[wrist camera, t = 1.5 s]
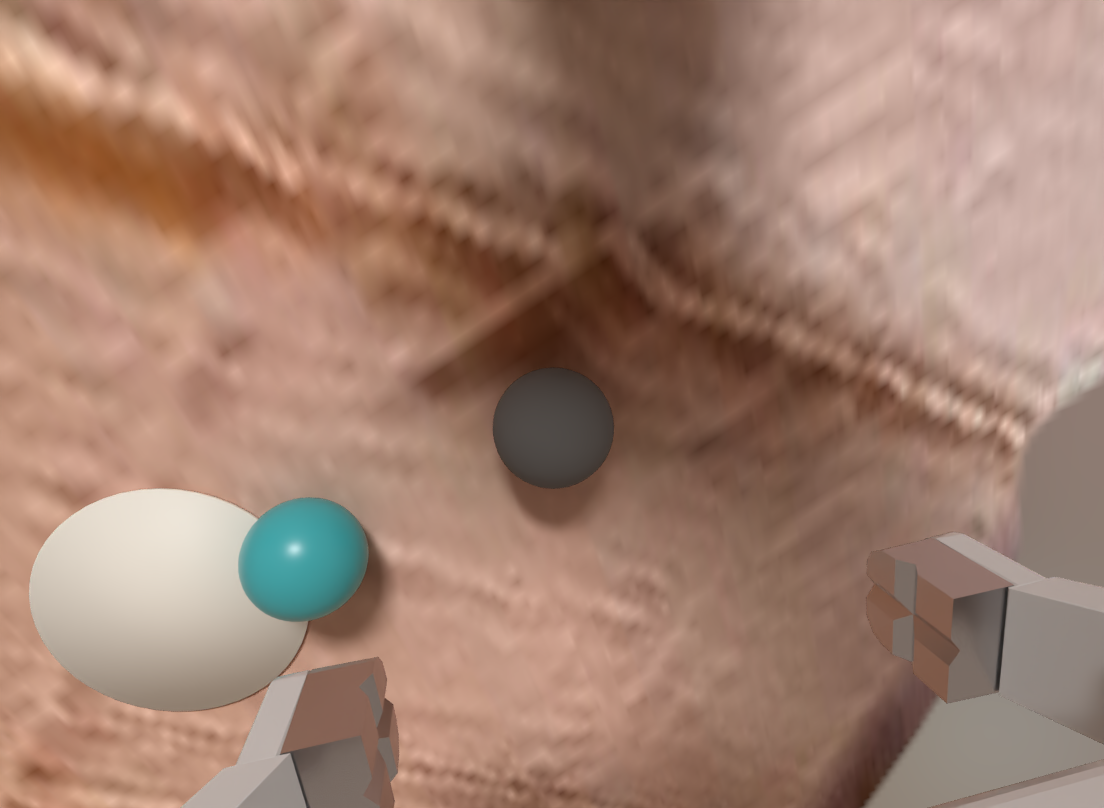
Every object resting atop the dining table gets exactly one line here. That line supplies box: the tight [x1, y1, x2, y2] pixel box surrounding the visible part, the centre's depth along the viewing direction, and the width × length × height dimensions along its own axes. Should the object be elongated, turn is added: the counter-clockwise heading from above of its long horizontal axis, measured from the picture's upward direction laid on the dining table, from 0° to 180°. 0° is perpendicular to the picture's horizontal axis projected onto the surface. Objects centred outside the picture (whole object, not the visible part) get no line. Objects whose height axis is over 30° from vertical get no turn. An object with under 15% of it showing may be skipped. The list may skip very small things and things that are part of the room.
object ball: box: [238, 497, 369, 622], centre depth 29 cm, size 6×6×6 cm
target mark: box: [29, 488, 308, 711], centre depth 32 cm, size 14×14×1 cm
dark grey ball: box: [493, 368, 614, 489], centre depth 29 cm, size 6×6×6 cm
